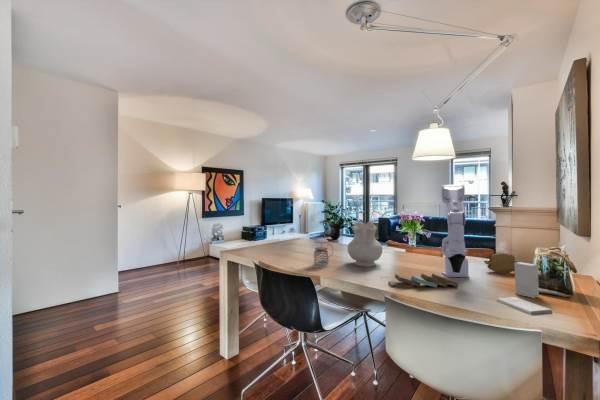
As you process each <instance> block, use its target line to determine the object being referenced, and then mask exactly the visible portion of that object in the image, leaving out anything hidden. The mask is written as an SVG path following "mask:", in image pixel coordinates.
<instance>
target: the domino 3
mask: <svg viewBox="0 0 600 400" xmlns="http://www.w3.org/2000/svg"><path fill="white" fill-rule="evenodd" d="M410 278H411V279H412V280H414V281H416V282H418V283H421V284H422V285H424V286H430V287H433V288H438V284H436V283H434V282H431V281H428V280H426V279H424V278H422V277H419V276H417V275H416V276H415V275H411V277H410ZM421 284H420V285H421Z"/></svg>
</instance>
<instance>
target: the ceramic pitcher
mask: <svg viewBox="0 0 600 400" xmlns="http://www.w3.org/2000/svg"><path fill="white" fill-rule="evenodd" d="M374 223H375V222H373V221H370V220H368V221H367V222H360V221H357V222H356V223H355V224H354V225H352V226H351V229H352V231H353V233H354V234H353V235H354V237H353V239H352V240H351V241H350V242H348V244H347V252H348V255H349V256H350V259H352V260H353V261H355V263H353V264H354V265H356V266H358V267H367V268H368V267H369V268H370V267H374V266H376V261H378V260H379V259H380V258H381V257H382V254H383V245H382V244H381V242H379V241H378V240H377V239H376V233H377V232H376V231H377V230H378V226H376V225H375V224H374Z"/></svg>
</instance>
